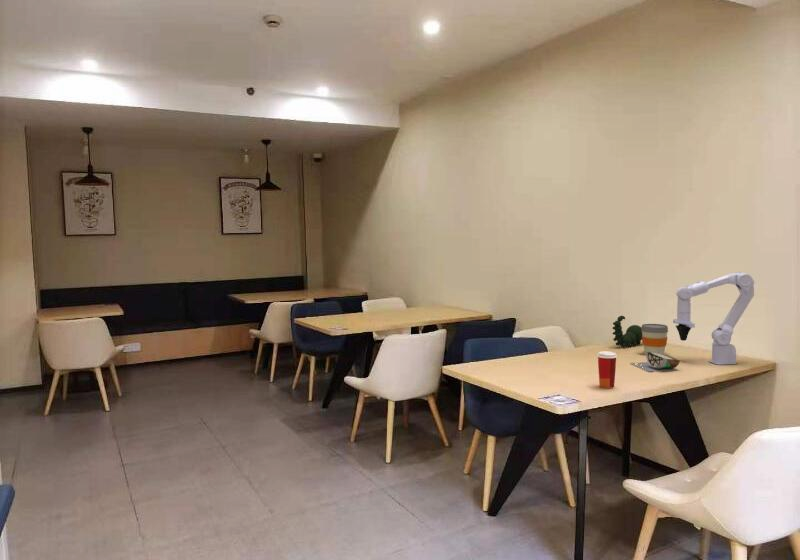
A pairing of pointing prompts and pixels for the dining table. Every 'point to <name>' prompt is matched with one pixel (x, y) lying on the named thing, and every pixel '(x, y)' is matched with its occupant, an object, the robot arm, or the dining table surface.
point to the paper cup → (606, 368)
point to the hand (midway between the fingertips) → (683, 340)
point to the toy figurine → (627, 334)
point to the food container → (661, 360)
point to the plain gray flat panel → (650, 368)
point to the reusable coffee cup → (654, 337)
